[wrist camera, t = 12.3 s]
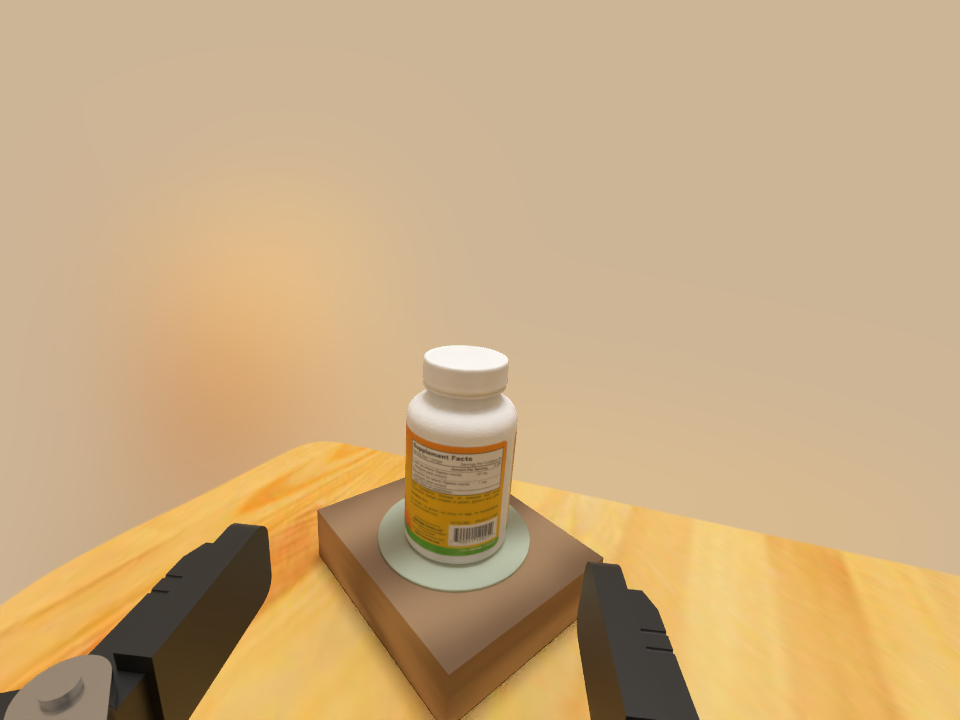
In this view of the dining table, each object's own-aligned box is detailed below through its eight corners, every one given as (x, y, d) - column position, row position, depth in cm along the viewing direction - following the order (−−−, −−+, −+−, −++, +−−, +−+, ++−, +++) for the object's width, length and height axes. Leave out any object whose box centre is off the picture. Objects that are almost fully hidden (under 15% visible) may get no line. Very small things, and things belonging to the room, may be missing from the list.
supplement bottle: (440, 490, 27) (448, 335, 24) (522, 521, 25) (541, 354, 22) (382, 540, 23) (383, 357, 20) (475, 585, 20) (491, 384, 18)
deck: (594, 603, 24) (603, 554, 23) (444, 731, 18) (449, 670, 17) (455, 494, 32) (457, 455, 31) (319, 554, 26) (317, 507, 25)
